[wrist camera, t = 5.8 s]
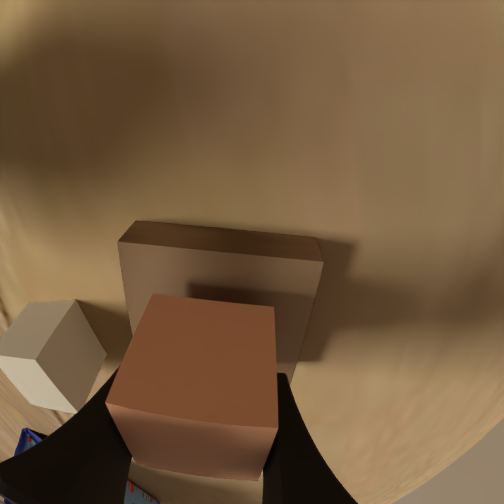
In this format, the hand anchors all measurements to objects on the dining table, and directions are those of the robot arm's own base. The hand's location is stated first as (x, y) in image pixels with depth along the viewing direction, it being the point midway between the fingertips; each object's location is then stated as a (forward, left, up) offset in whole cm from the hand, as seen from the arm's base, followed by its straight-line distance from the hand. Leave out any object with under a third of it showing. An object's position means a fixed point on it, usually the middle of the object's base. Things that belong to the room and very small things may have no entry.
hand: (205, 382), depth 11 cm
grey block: (-10, -4, -5) cm, 12 cm away
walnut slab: (0, 0, -5) cm, 5 cm away
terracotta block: (0, 0, -2) cm, 2 cm away
